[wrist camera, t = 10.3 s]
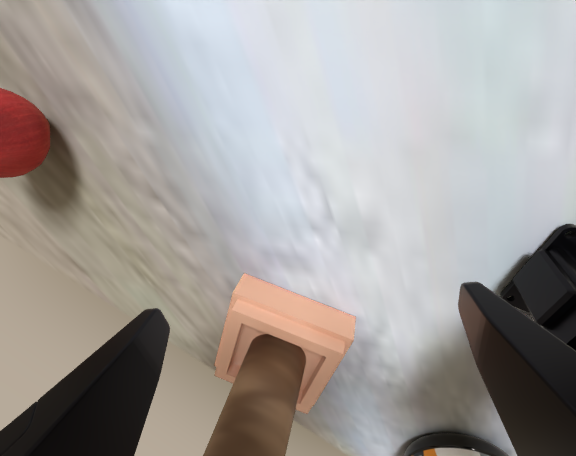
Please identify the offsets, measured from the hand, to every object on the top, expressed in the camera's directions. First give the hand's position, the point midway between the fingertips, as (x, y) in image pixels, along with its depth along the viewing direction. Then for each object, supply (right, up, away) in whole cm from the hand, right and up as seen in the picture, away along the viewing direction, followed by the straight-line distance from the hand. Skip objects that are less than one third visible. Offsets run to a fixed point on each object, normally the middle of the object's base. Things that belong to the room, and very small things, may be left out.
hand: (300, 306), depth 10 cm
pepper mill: (-1, -9, +18) cm, 20 cm away
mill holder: (-1, -7, +20) cm, 22 cm away
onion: (-19, +11, +15) cm, 27 cm away
